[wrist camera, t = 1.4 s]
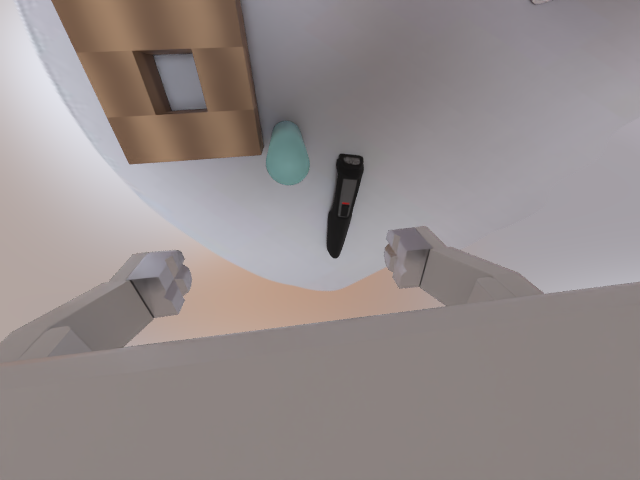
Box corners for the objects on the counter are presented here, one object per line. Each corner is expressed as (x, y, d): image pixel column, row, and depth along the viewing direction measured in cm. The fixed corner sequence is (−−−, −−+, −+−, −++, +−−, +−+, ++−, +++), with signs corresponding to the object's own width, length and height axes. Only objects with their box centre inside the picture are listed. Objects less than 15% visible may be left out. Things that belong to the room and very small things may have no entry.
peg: (299, 119, 29) (308, 140, 19) (302, 150, 31) (310, 183, 21) (269, 121, 29) (262, 143, 19) (274, 152, 31) (269, 186, 21)
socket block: (238, -10, 23) (230, -26, 19) (263, 146, 30) (261, 155, 27) (77, -7, 21) (40, -23, 18) (146, 154, 29) (129, 164, 26)
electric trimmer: (320, 247, 41) (323, 258, 38) (336, 152, 32) (341, 159, 29) (342, 247, 41) (346, 259, 39) (363, 155, 33) (370, 162, 30)
